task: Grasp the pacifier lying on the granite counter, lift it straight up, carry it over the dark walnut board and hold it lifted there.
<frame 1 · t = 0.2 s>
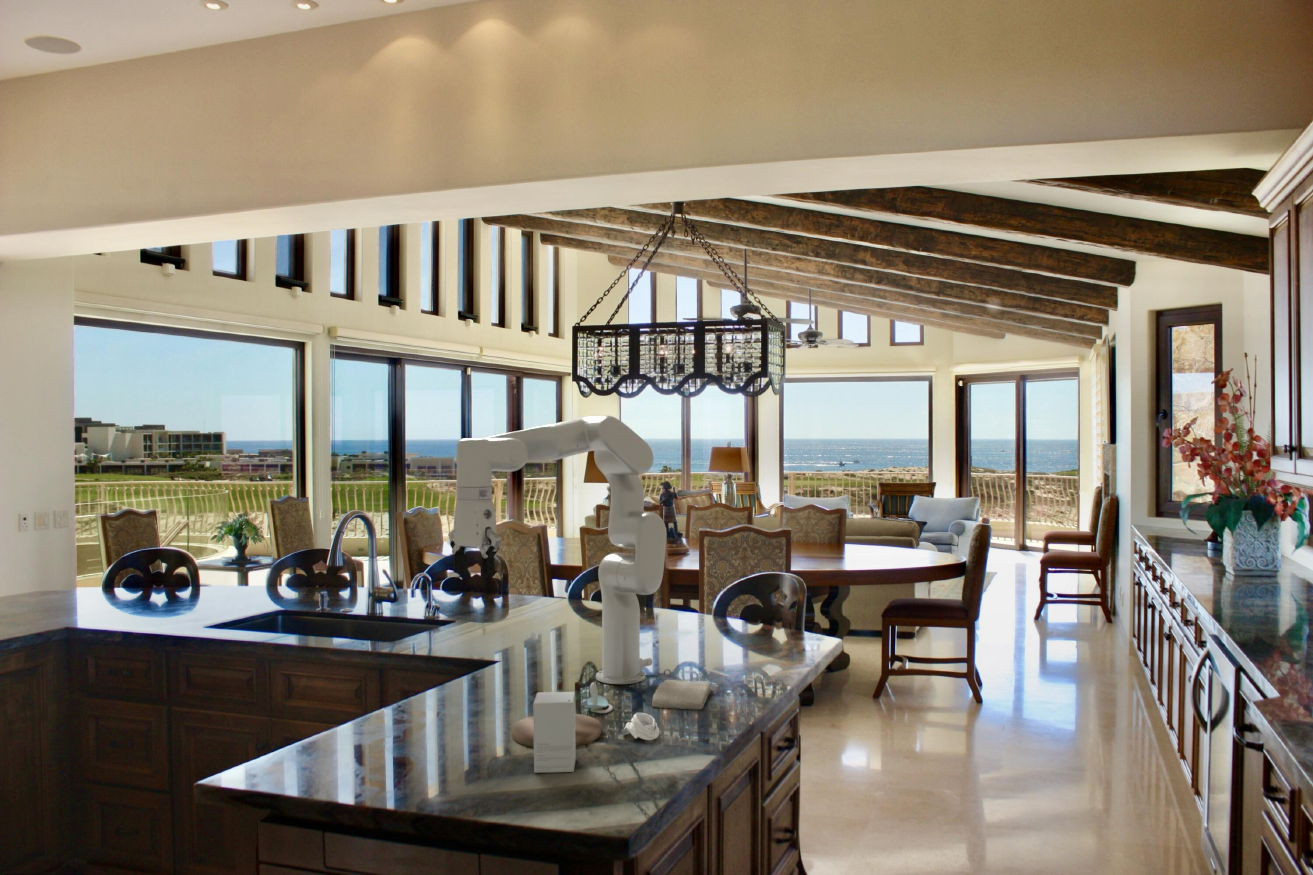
hand: (473, 574, 191), 31 cm above the counter, fingers open, 9 cm apart
pacifier: (599, 711, 196), on the counter
washcloth: (682, 700, 205), on the counter
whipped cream: (642, 737, 178), on the counter
walnut board: (556, 733, 179), on the counter
supplement box: (554, 766, 161), on the counter
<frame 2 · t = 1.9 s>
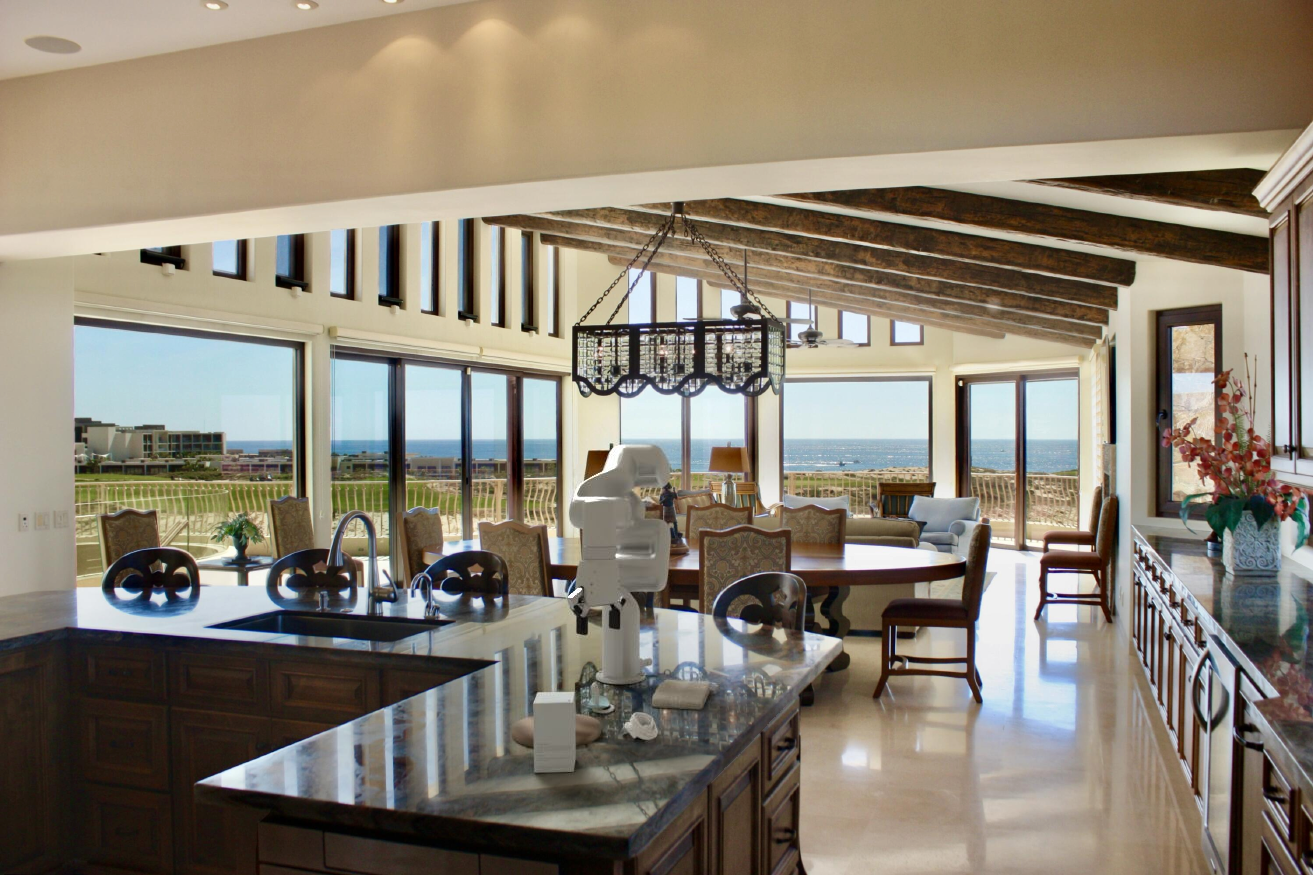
hand: (598, 631, 195), 17 cm above the counter, fingers open, 9 cm apart
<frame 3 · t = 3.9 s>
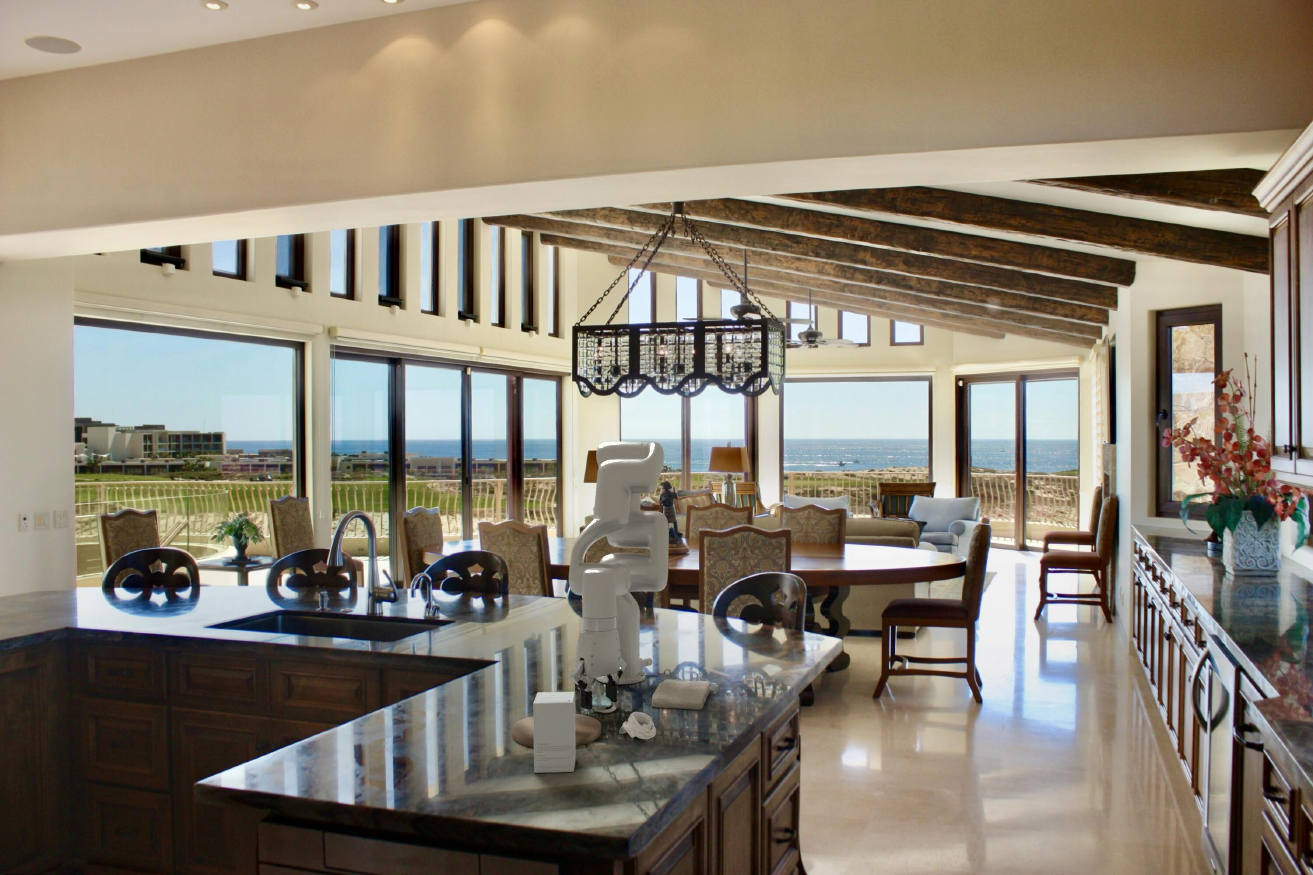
hand: (599, 703, 196), 1 cm above the counter, fingers closed on pacifier, 6 cm apart
pacifier: (602, 710, 196), on the counter, touching gripper
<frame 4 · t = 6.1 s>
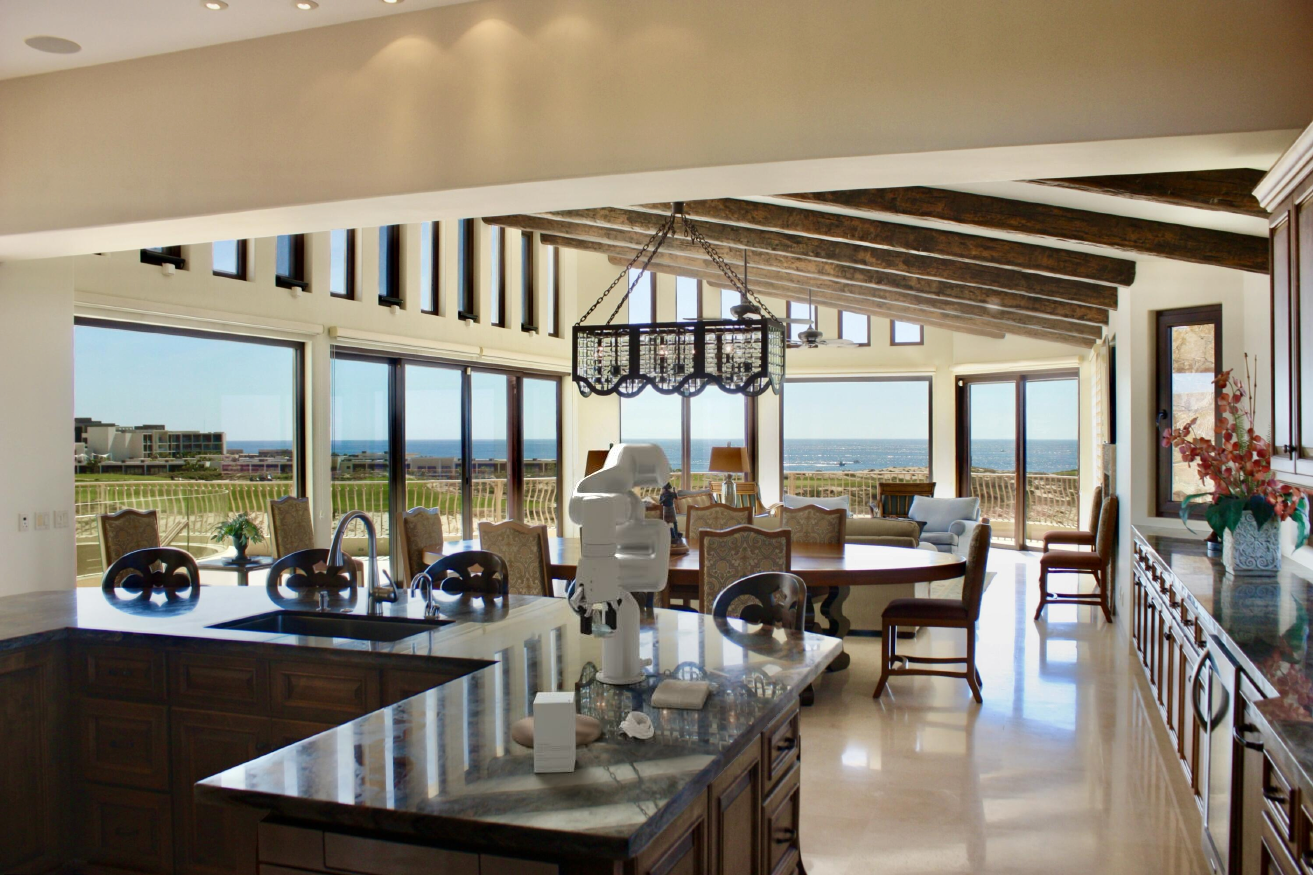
hand: (598, 630, 196), 18 cm above the counter, fingers closed on pacifier, 6 cm apart
pacifier: (602, 637, 196), point 16 cm above the counter, touching gripper
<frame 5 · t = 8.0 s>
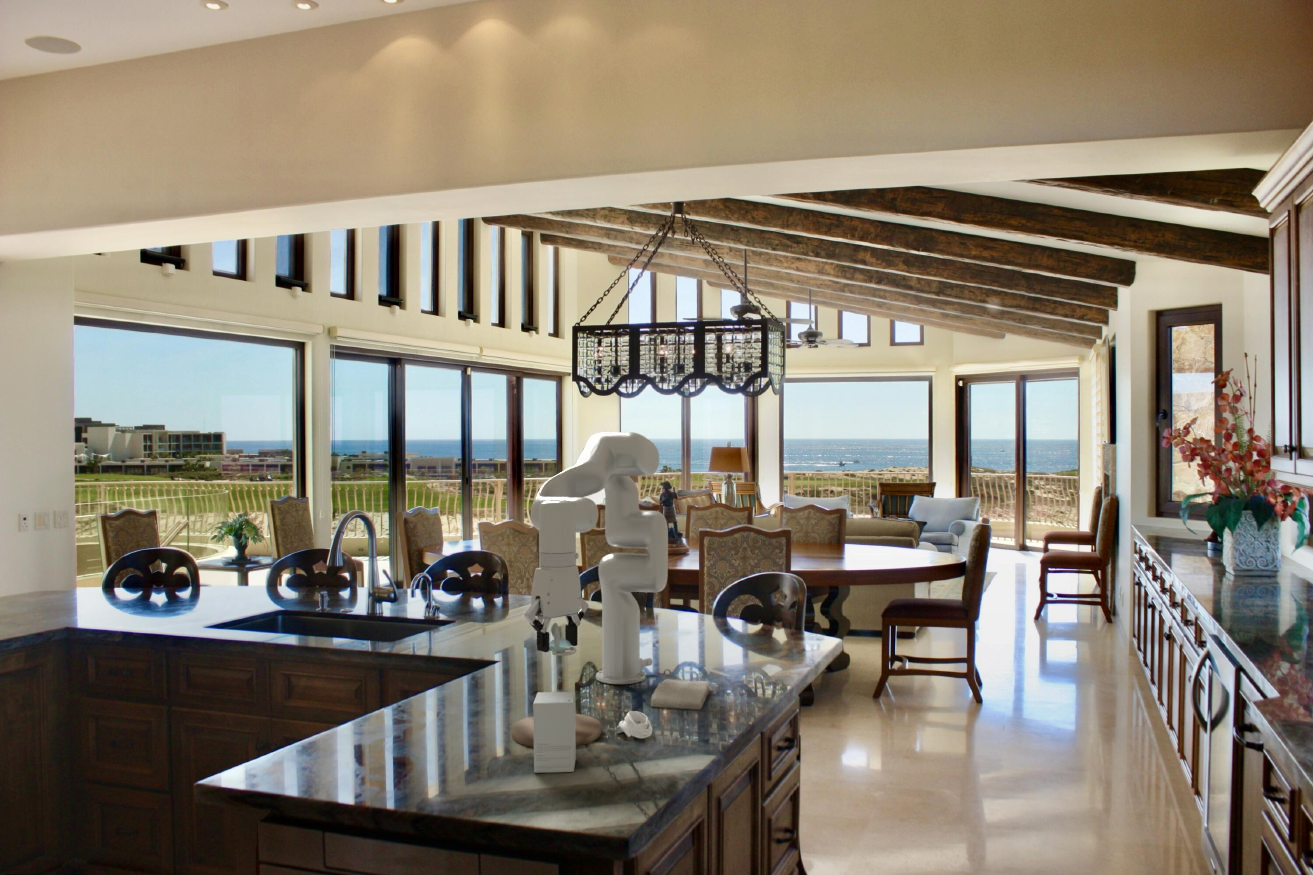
hand: (557, 647, 180), 17 cm above the counter, fingers closed on pacifier, 6 cm apart
pacifier: (561, 654, 180), point 16 cm above the counter, touching gripper
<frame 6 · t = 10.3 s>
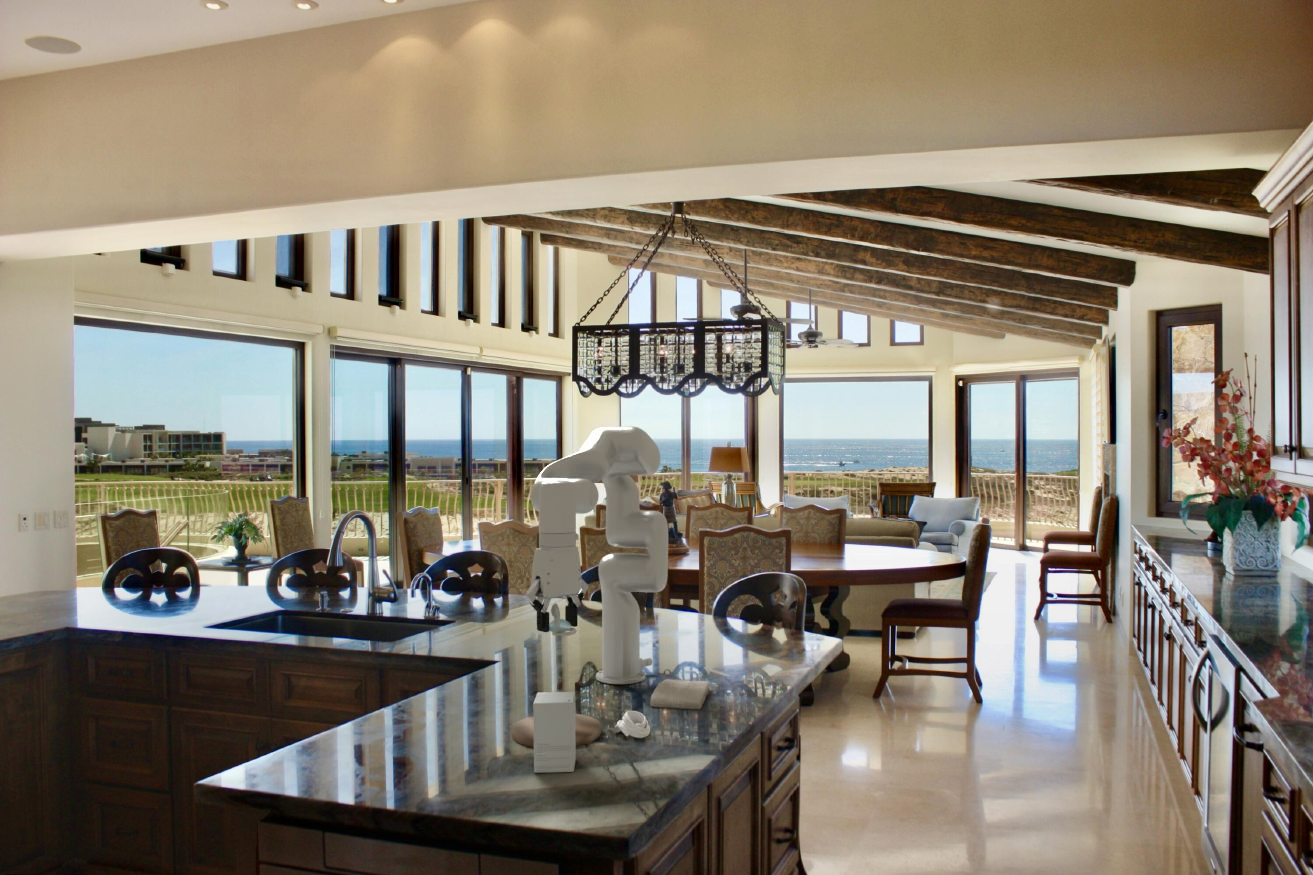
hand: (557, 627, 180), 21 cm above the counter, fingers closed on pacifier, 6 cm apart
pacifier: (561, 635, 180), point 20 cm above the counter, touching gripper
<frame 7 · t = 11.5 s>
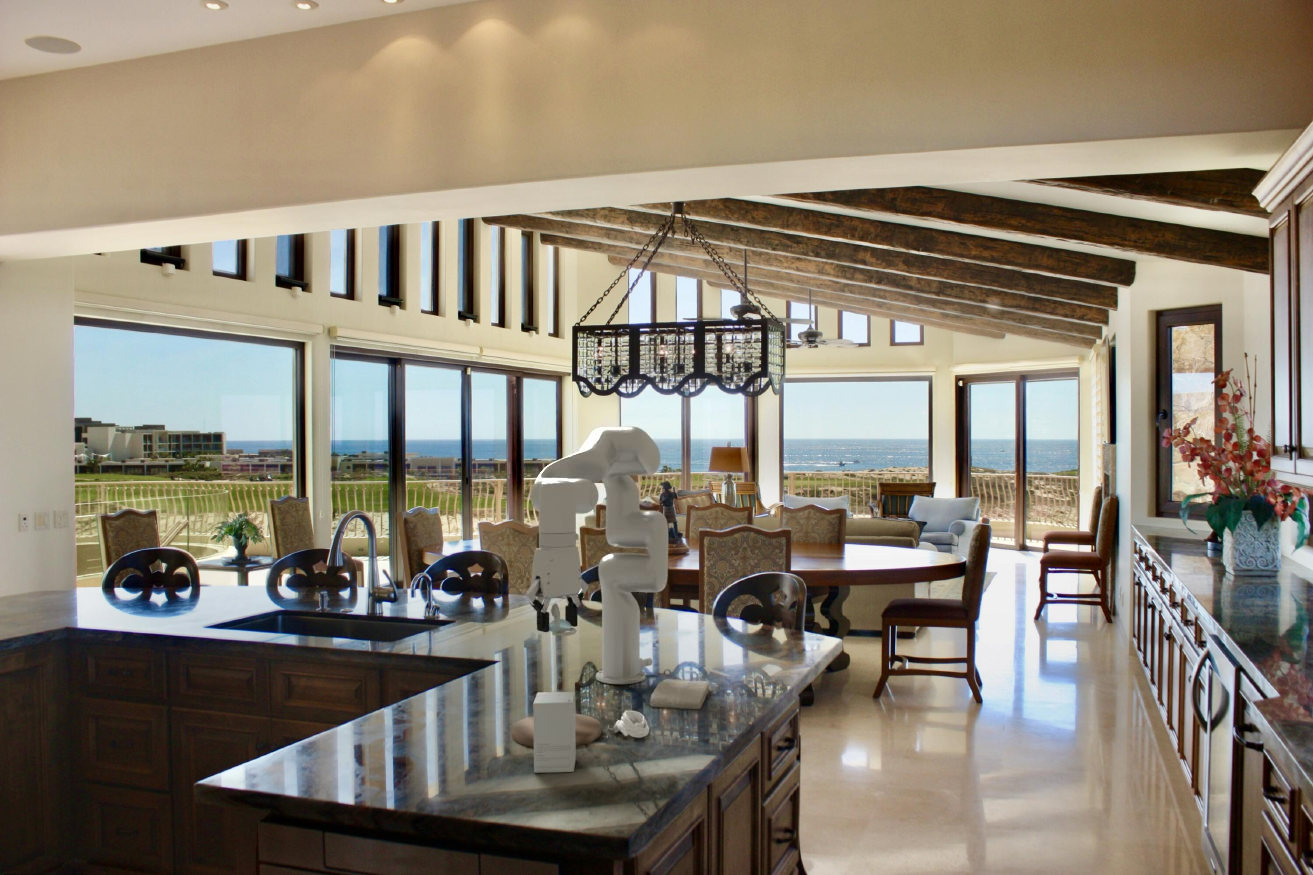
hand: (557, 627, 180), 21 cm above the counter, fingers closed on pacifier, 6 cm apart
pacifier: (561, 635, 180), point 20 cm above the counter, touching gripper
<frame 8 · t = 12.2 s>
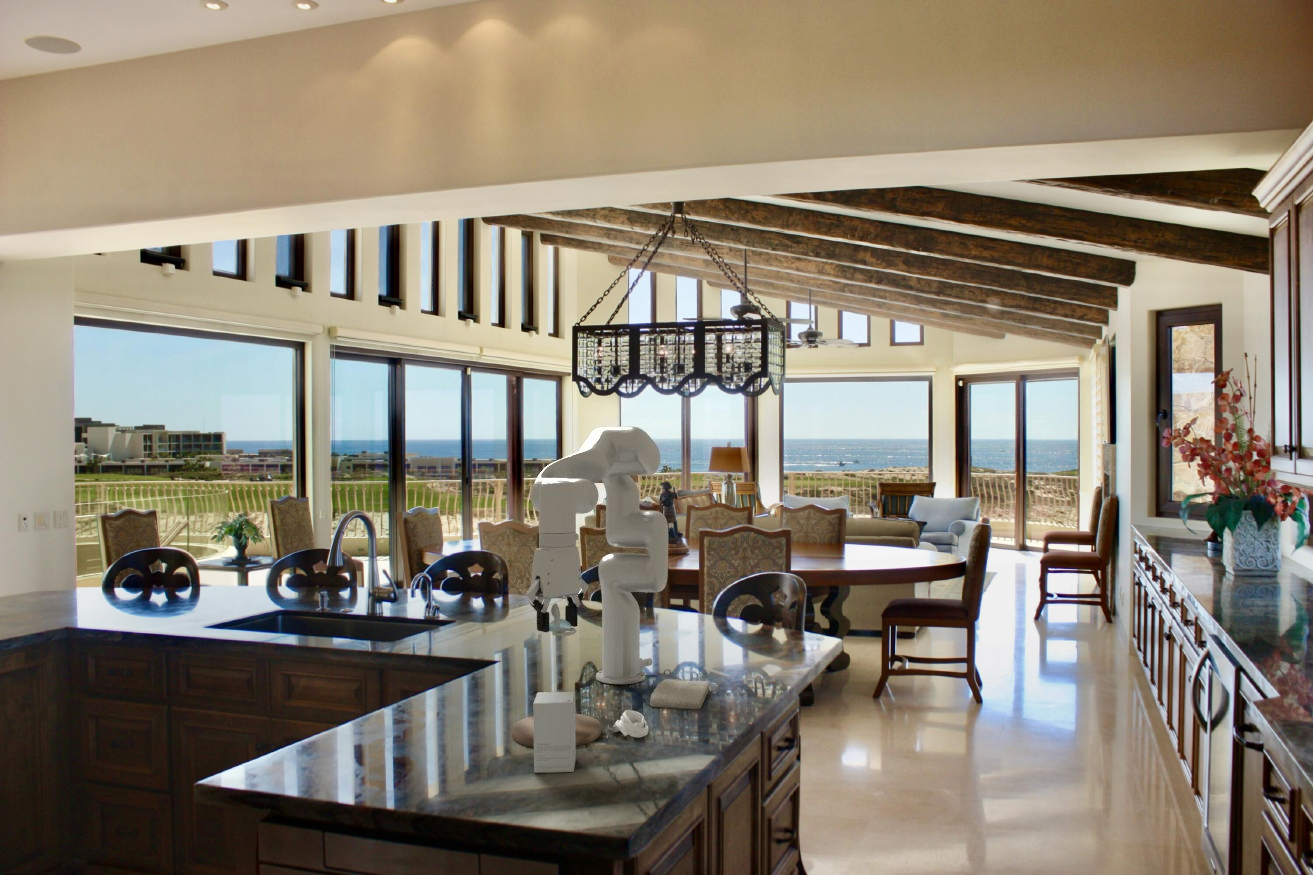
hand: (557, 627, 180), 21 cm above the counter, fingers closed on pacifier, 6 cm apart
pacifier: (561, 635, 180), point 20 cm above the counter, touching gripper
at the end: the gripper is holding pacifier; pacifier point 20.0 cm above the counter; pacifier 0.9 cm from the walnut board (horizontally) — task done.
